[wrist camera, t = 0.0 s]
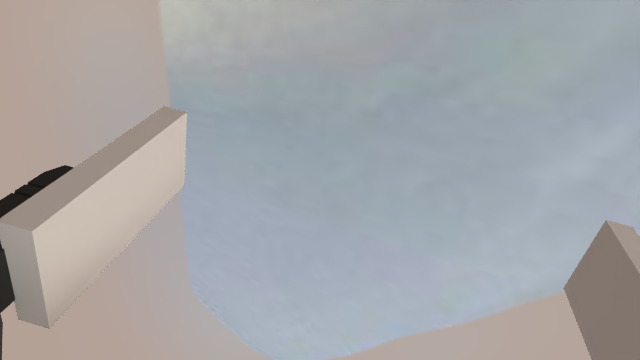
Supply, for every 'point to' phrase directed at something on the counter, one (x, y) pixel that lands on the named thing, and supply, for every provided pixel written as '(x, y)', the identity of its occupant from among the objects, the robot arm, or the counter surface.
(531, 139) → the counter surface
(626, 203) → the counter surface
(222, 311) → the counter surface
